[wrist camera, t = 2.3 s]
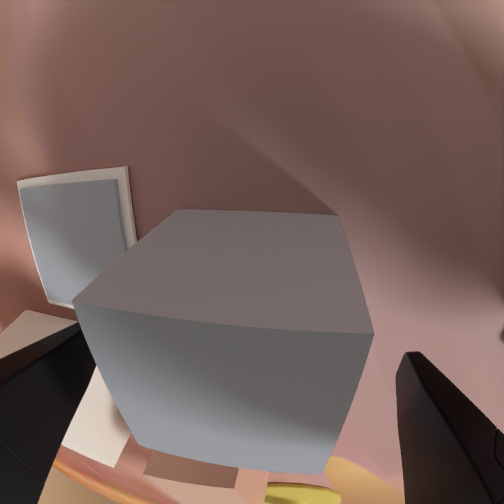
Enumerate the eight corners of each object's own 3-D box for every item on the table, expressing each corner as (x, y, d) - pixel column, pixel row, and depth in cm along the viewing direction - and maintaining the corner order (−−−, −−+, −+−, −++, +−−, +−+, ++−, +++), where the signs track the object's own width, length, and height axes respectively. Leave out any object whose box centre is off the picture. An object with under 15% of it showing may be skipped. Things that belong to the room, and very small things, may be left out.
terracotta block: (252, 408, 15) (234, 488, 10) (272, 449, 16) (261, 515, 12) (172, 406, 16) (142, 474, 11) (203, 447, 18) (184, 505, 13)
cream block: (107, 324, 14) (54, 392, 9) (143, 407, 17) (113, 467, 12) (27, 308, 15) (-20, 354, 11) (67, 383, 18) (34, 429, 13)
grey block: (338, 214, 10) (374, 333, 4) (321, 343, 12) (321, 474, 7) (178, 208, 10) (71, 300, 5) (193, 331, 13) (139, 445, 7)
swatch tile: (127, 166, 10) (121, 168, 10) (153, 321, 13) (149, 326, 12) (19, 180, 11) (13, 182, 11) (50, 301, 14) (46, 304, 13)
